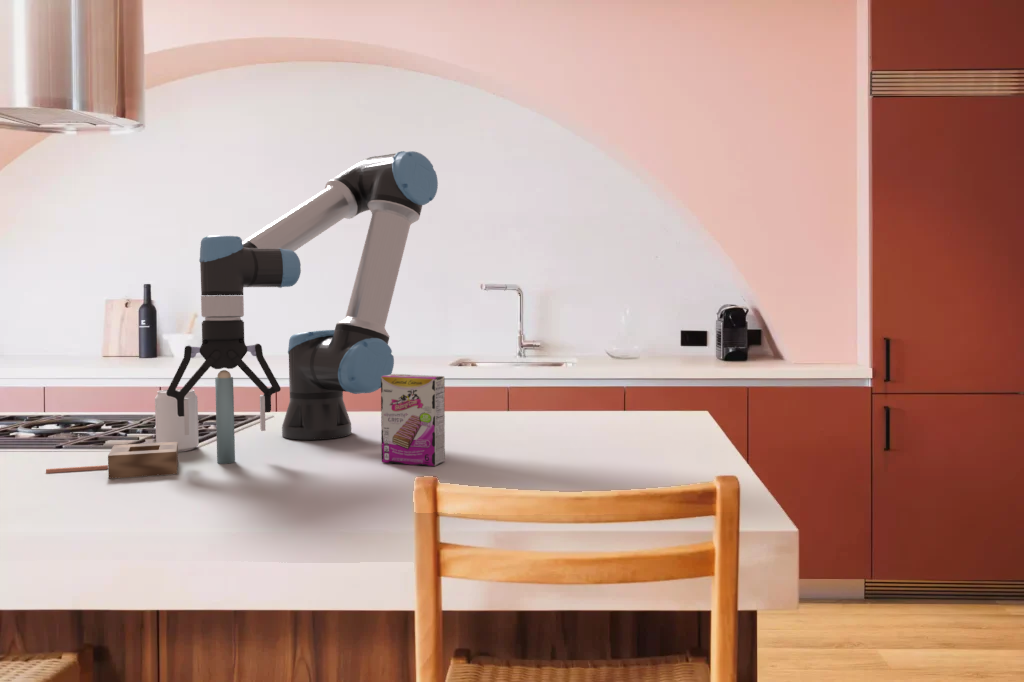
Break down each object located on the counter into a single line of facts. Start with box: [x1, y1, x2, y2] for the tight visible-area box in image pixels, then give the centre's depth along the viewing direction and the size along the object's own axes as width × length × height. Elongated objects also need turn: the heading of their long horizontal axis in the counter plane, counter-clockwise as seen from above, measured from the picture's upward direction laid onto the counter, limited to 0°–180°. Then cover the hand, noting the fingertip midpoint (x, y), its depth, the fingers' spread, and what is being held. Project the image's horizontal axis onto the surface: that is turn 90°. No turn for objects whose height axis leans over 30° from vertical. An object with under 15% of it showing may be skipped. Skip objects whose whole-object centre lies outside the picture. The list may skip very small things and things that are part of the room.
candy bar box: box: [380, 373, 446, 467], centre depth 165 cm, size 11×5×16 cm, turn 71°
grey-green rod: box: [214, 369, 236, 465], centre depth 167 cm, size 3×3×17 cm
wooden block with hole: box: [107, 442, 179, 480], centre depth 160 cm, size 11×11×4 cm
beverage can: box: [154, 388, 199, 453], centre depth 181 cm, size 8×8×12 cm
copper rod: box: [45, 464, 108, 474], centre depth 160 cm, size 10×1×1 cm, turn 109°
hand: (225, 431), depth 167 cm, fingers open, 13 cm apart
